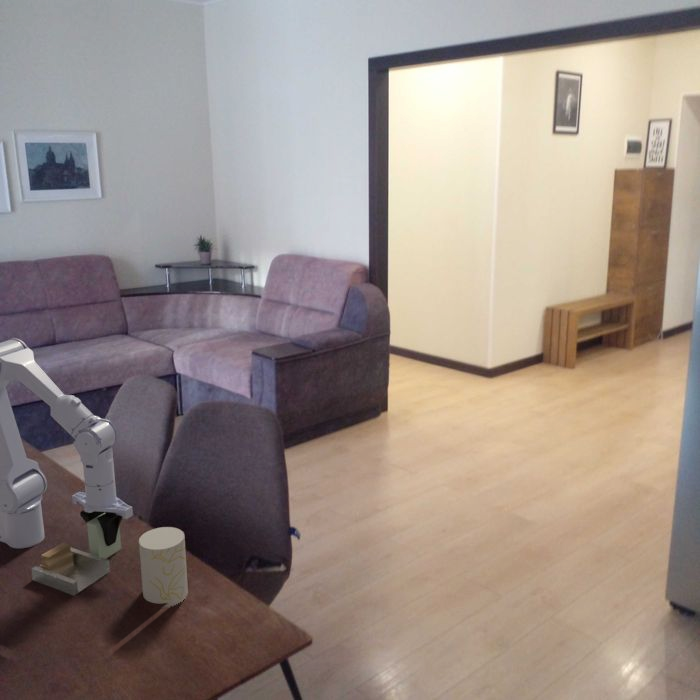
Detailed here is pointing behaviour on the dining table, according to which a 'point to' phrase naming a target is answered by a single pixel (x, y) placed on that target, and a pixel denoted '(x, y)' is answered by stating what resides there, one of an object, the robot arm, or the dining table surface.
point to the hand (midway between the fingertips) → (105, 541)
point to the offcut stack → (57, 559)
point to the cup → (163, 566)
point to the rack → (74, 573)
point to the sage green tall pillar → (101, 540)
